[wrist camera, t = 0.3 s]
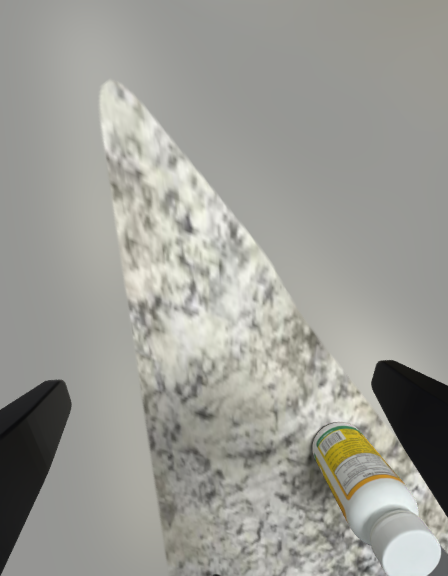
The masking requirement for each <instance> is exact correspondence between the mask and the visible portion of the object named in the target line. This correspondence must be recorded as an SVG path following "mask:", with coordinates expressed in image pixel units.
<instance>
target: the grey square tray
mask: <svg viewBox="0 0 448 576" xmlns="http://www.w3.org/2000/svg"><path fill="white" fill-rule="evenodd" d="M440 547H441V545H440ZM427 576H448V554H447V552H446V551H445V550H444V549H443V548H442V547H441V557H440V560H439V562H438V564H437V566H436V567H435V568H434V570H433V571H432V572H431V573H430V574H428V575H427Z"/></svg>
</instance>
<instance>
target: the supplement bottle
mask: <svg viewBox="0 0 448 576" xmlns="http://www.w3.org/2000/svg"><path fill="white" fill-rule="evenodd" d="M313 455H314V458H315V460H316V462H317V464H318V466H319V468H320V470H321V472H322V474H323V476H324V478H325V480H326V482H327V483H328V485H329V487H330V489H331V491H332V493H333V495H334V497H335V499H336V501H337V503H338V505H339V507H340V509H341V511H342V513H343V515H344V517H345V519H346V521H347V523H348V524H349V526H350V528H351V530H352V531H353V532H354V534H355V535H356V536H357V537H358V538H359V539H360V540H362V541H363V542H364V543H366V544H368V545H371V547H372V550H373V553H374V554H375V556H376V557H377V559H378V561H379V562H380V564H381V566H382V568H383V569H384V571H385V572H386V574H387V575H388V576H427V575H428V574H430V573H431V572H432V571H433V570H434V568H435V567H436V566H437V564H438V562H439V560H440V557H441V547H440V544H439V541H438V540H437V538H436V537H435V535H434V534H433V533H432V531H431V530H430V529H429V528H428V526H427V525H426V524H425V522H424V521H423V520H422V519H421V518H420V517H418V506H417V502H416V500H415V498H414V496H413V494H412V493H411V491H410V490H409V489H408V487H407V486H406V485H405V484H404V482H403V481H402V480H401V479H400V478H399V477H398V475H397V474H396V473H395V472H394V471H393V470H392V469H391V467H390V466H389V465H388V464H387V463H386V462H385V460H384V459H383V458H382V457H381V456H380V454H379V453H378V452H377V451H376V450H375V449H374V447H373V446H372V445H371V444H370V443H369V442H368V440H367V439H366V438H365V437H364V436H363V435H362V433H361V432H360V431H359V430H358V429H357V428H356V427H355V426H353V425H351V424H348V423H343V422H336V423H332V424H329V425H327V426H325V427H324V428H322V429H321V430H320V431H319V432H318V434H317V435H316V437H315V439H314V442H313Z"/></svg>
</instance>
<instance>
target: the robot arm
mask: <svg viewBox="0 0 448 576" xmlns="http://www.w3.org/2000/svg"><path fill="white" fill-rule="evenodd" d="M371 385H372V389H373V392H374V394H375V395H376V397H377V399H378V401H379V403H380V405H381V407H382V409H383V411H384V413H385V415H386V417H387V418H388V421H389V423H390V424H391V426H392V428H393V430H394V432H395V434H396V436H397V438H398V439H399V441H400V443H401V445H402V446H403V448H404V449H405V451H406V453H407V454H408V456H409V457H410V459H411V461H412V462H413V464H414V465H415V467H416V468H417V470H418V472H419V473H420V475H421V476H422V478H423V479H424V481H425V483H426V484H427V486H428V487H429V489H430V490H431V492H432V494H433V495H434V497H435V498H436V500H437V501H438V503H439V505H440V506H441V508H442V509H443V511H444V512H445V514H446V516H447V517H448V386H447V385H445V384H443V383H441V382H439V381H436V380H435V379H432V378H430V377H428V376H426V375H424V374H422V373H420V372H418V371H415V370H413V369H411V368H409V367H407V366H405V365H403V364H400V363H398V362H396V361H393V360H383V361H379V362H378V363H377V364H376V367H375V371H374V374H373V378H372V382H371ZM70 410H71V399H70V396H69V393H68V390H67V386H66V384H65V382H64V381H63V380H48V381H45V382H43V383H41V384H40V385H38V386H37V387H35V388H34V389H32V390H31V391H29V392H28V393H26V394H24V395H23V396H21V397H20V398H18V399H16V400H15V401H13V402H12V403H10V404H9V405H7V406H6V407H4V408H2V409H1V410H0V575H1V573H2V571H3V569H4V567H5V565H6V563H7V561H8V558H9V556H10V554H11V552H12V550H13V548H14V546H15V543H16V541H17V539H18V537H19V535H20V532H21V530H22V528H23V526H24V524H25V522H26V519H27V517H28V515H29V513H30V511H31V509H32V507H33V504H34V502H35V500H36V498H37V496H38V494H39V491H40V489H41V487H42V485H43V483H44V481H45V478H46V476H47V474H48V471H49V469H50V467H51V464H52V461H53V458H54V456H55V453H56V450H57V448H58V444H59V442H60V439H61V436H62V433H63V431H64V428H65V425H66V422H67V419H68V417H69V414H70Z"/></svg>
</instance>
